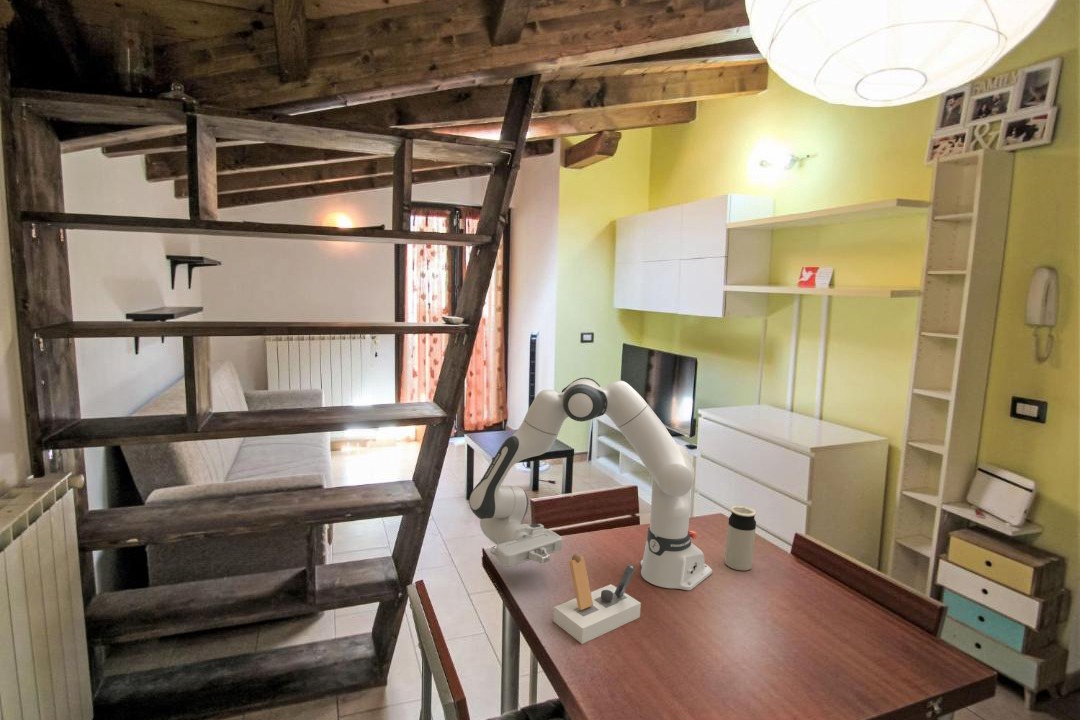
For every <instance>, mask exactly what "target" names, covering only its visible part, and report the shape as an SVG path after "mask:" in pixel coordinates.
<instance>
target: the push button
mask: <svg viewBox="0 0 1080 720" xmlns="http://www.w3.org/2000/svg"><path fill="white" fill-rule="evenodd" d="M601 599H602V600H604V601H611V600H612V599H613V593H612V592H611V591H609V590H603V591H602V592H601Z"/></svg>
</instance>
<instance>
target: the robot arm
mask: <svg viewBox="0 0 1080 720" xmlns="http://www.w3.org/2000/svg"><path fill="white" fill-rule="evenodd" d="M604 415H606V416H607V417H608V418H609V419H610V420H611V421H612V422H613V424H614V425H615V426H616V428H617V429H618V430H619V432H620V433H621V434H622V436H623V437H624V438H625V439H626V440H627V441H628V443H629V444H630V446H631V447H632V449H634V451H635V453H636V454H637V456H638V458H639V459H640V460H641V462H642V464H643V465H644V467H645V468H646V470H647V471H648V472H649V474H650V476H651V477H652V480H651V482H652V483H651V500H650V501H651V504H650V518H649V520H650V521H649V526H648V529H647V533H646V534H647V536H646V537H647V538H646V539H647V540H646V541H645V545H644V546H645V547H644V553H643V557H642V559H641V560H640V567H641V569H640V575H641V577H642V578H643V579H644V580H645V581H646V582H648V583H650V584H652V585H654V586H656V587H660V588H664V589H665V588H666V589H677V590H678V589H680V590H685V591H691V590H693V589H694V588H696V587H697V586H698V585H699V584H701V583H702V582H703V581H704V580H706V579H707V578H708V577H709V576H710V575H712V574H713V569H712V568H711V567H710V566H709V565H708V564H706V563H705V555H704V552H703V551H702V550H701V549H700V548H699V547H697V546H696V545H695V544H694V543H693V542H692V541H691V540H692V539H693V540H695V539H697V537H698V533H697V531H693V530H692V529H691V530H689V526H690V525H689V523H690V512H691V511H690V510H691V504H690V503H691V499H690V498H691V489H692V488H693V485H694V482H695V480H696V478H695V477H696V473H695V468H694V465H693V462H692V458H691V455H690V453H689V451H688V450H687V449H686V447H684V446H683V445H681V444H680V443H677V442H676V441H675V440H674V438H673V437H672V435H671V434H670V432H669V430H668V429H667V428H666V426H665V424H664V423H663V422H662V421H661V419H660V418H659V417H658V416H657V414H656V413H655V411H654V410H653V408H652V407H651V406H650V405H649V404H648V403H647V402H646V400H645V399H644V398H643V397H642V396H641V394H639V392H638V391H636V389H635V388H633V387H632V386H631V385H630V384H629V383H628V382H626V381H624V380H615V381H612V382H611V383H609V384H607V385H606V386H601V385H600V384H599V383H598V382H597V381H596V380H595V379H593V378H589V377H579V378H578V379H577V378H576V379H575V380H573V381H572V382H571V383H570V384H568V385H567V386H565V387H564V388H562V390H561V392H559V391H557V390H553V389H542V390H541V391H539V392H538V393H537V395H536V396H535V398H534V400H533V401H532V403H531V405H530V406H529V408H528V410H527V412H526V414H525V416H524V418H523V421H522V423H521V424H520V426H519V428H518V429H517V430H516V431H515V432H514V433H513V434H512V435H510V437H507V438H506V439H505V440H504V442H502V444H501V446H500V447H499V449H498V451H497V452H496V454H495V455H494V458H492V460H491V462H490V464H489V466H488V468H487V469H486V471H485V473H484V475H482V478H481V479H480V480H479V482H477V484H476V485H475V486H474V488H473V489H472V491H471V493H470V495H469V499H468V501H469V502H468V504H469V507H470V510H471V512H472V513H473V514H474V515H475V516H476V517H477V518H478V519H479V525H480V530H481V531H482V533H483V534H484V535H485V537H486V538H488V540H489V541H491V542H492V543H493V544H495V545H494V546H492V547H491V549H490V550H489V551H490V554H492V555H493V556H495V558H496V560H497V561H498V562H499V563H500V564H501V565H502V566H503V567H506V568H509V567H513V566H517V565H519V564H523V563H525V562H528V561H532V562H538V563H540V564H544V563H547V562H550V561H551V559H552V557H551V554H553V553H555V552H560V551H561V550H562V549H563V536H561V535H559V534H558V533H556V532H555V531H553V530H551V529H549V528H545V526H544V525H543V524H541V523H533V524H530V523H529V524H526V523H523V522H524V519H525V517H526V515H527V513H528V511H529V510H528V509H529V505H530V504H529V498H528V494H527V493H526V491H525V490H524V489H523V487H521V486H517V485H516V486H515V485H502V484H503V482H504V480H505V479H506V477H507V475H508V474H509V472H510V470H511V469H512V468H513V467H514V465H516V464H517V463H519V462H521V461H523V460H526V459H529V458H533V457H537V456H541V455H543V454H545V453H547V452H548V451H550V450H551V449H552V447H553V446H554V444H555V442H556V440H557V438H558V435H559V433H560V431H561V428H562V425H563V423H564V422H565V421H566V420H567V418H570V419H572V420H573V421H576V422H588V421H590V420H593V419H595V418H598V417H601V416H604ZM691 538H692V539H691Z"/></svg>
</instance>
